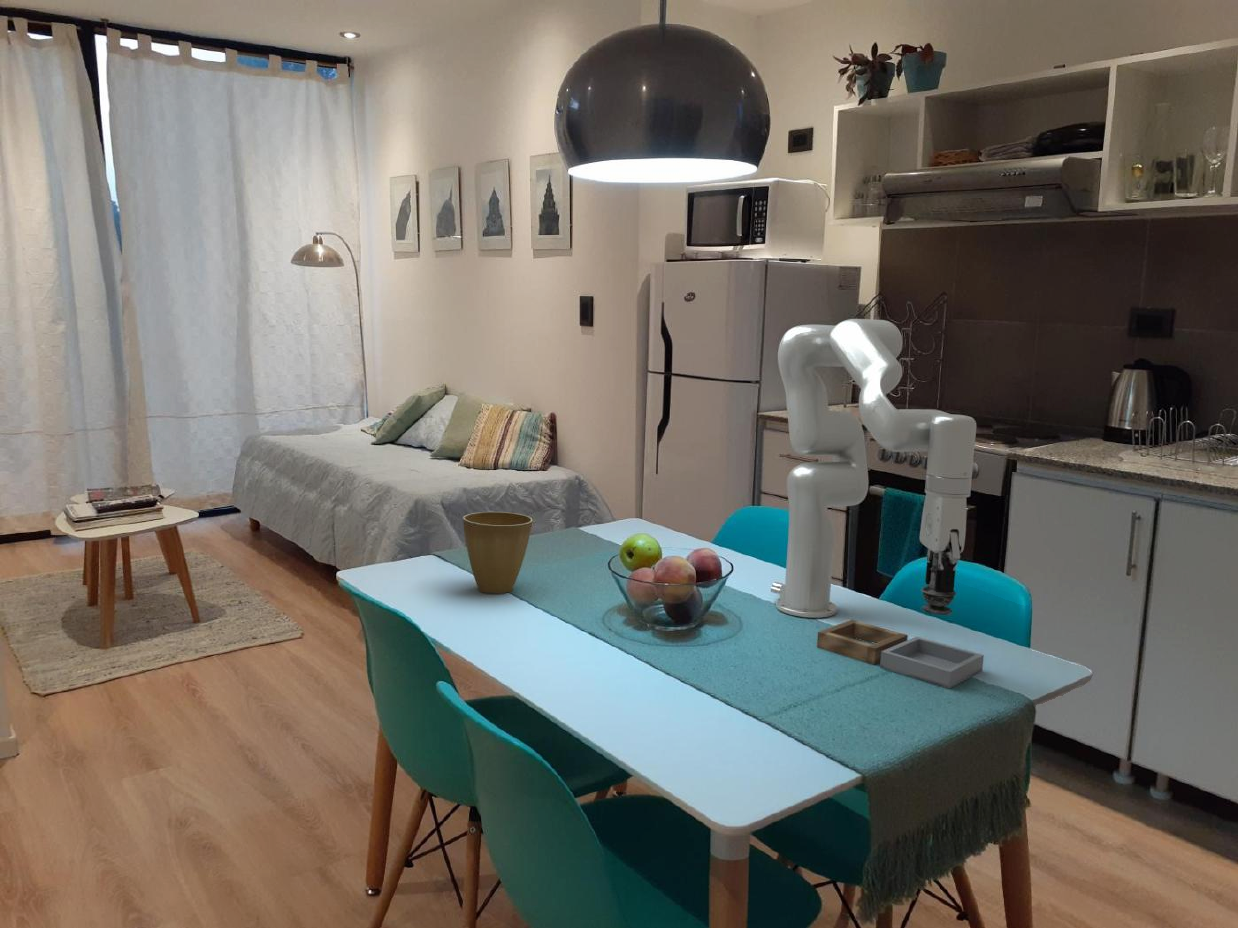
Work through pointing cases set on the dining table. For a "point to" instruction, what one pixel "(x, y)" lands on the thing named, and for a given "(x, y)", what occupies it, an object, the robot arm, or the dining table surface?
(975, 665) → the grey tray
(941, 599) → the grey chess piece
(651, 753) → the dining table surface
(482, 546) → the plant pot
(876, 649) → the wooden tray
